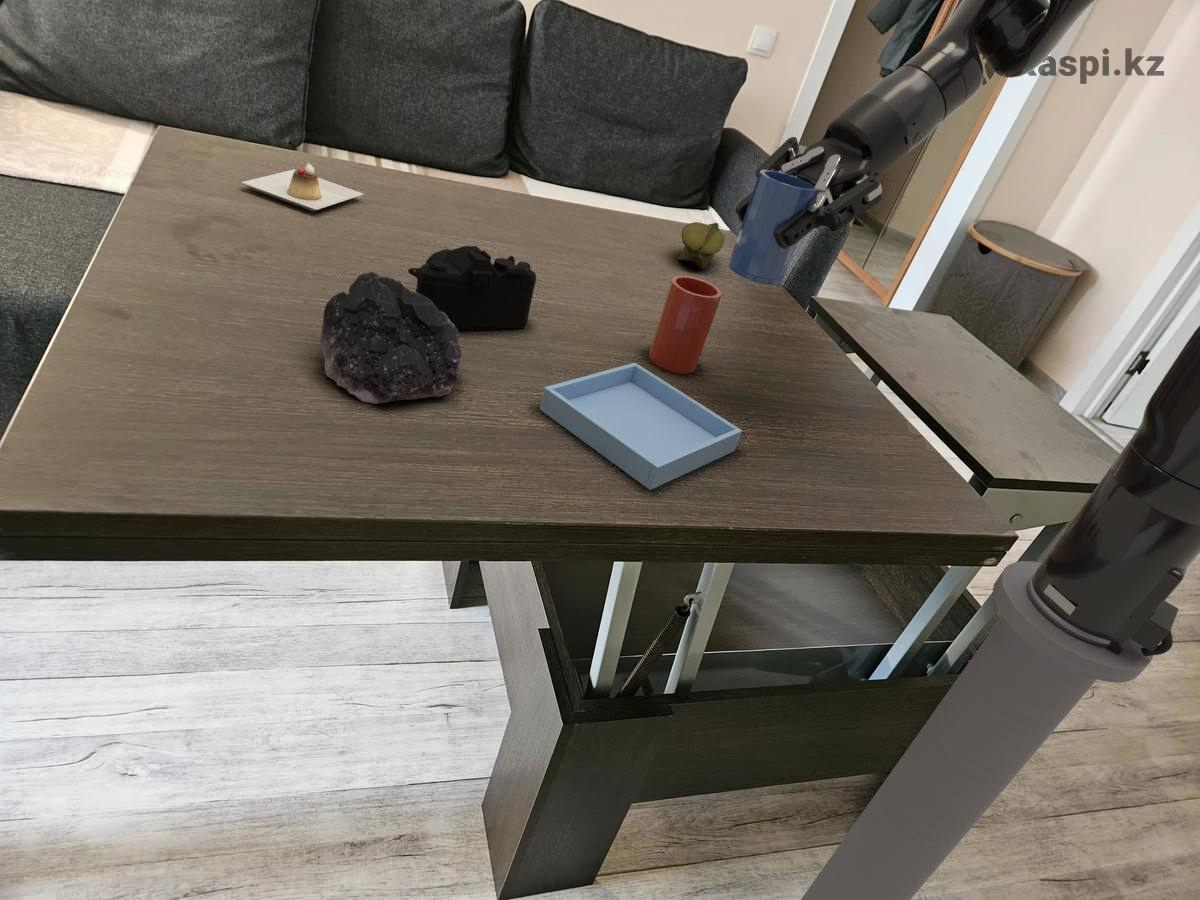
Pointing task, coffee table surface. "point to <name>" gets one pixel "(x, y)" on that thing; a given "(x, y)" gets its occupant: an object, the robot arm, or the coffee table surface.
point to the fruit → (701, 243)
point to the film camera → (477, 288)
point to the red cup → (684, 324)
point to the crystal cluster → (388, 342)
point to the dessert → (302, 189)
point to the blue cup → (769, 227)
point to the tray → (640, 423)
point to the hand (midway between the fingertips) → (759, 228)
